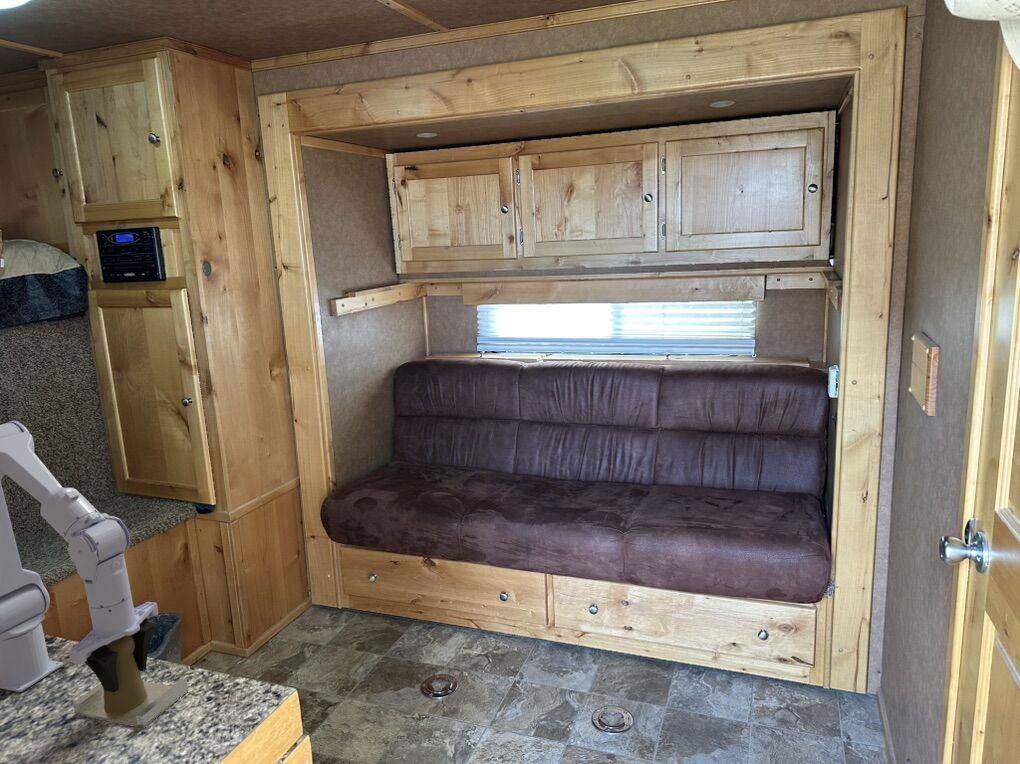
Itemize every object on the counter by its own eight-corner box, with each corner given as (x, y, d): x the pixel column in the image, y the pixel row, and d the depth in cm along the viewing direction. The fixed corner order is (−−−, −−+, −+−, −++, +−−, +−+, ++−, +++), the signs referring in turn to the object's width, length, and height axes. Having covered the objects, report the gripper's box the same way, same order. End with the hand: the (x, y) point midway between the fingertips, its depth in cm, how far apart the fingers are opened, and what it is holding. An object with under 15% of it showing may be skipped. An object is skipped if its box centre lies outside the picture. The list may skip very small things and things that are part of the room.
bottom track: (75, 714, 111) (72, 703, 111) (122, 680, 119) (120, 669, 119) (144, 728, 107) (142, 716, 106) (188, 691, 115) (186, 680, 115)
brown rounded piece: (155, 690, 115) (144, 627, 113) (130, 714, 109) (117, 649, 107) (122, 688, 116) (110, 626, 114) (95, 712, 110) (82, 647, 108)
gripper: (88, 626, 101) (106, 713, 104) (167, 579, 114) (180, 656, 117) (51, 621, 103) (69, 705, 106) (132, 575, 117) (146, 651, 119)
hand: (125, 679), depth 112 cm, fingers closed on brown rounded piece, 5 cm apart
